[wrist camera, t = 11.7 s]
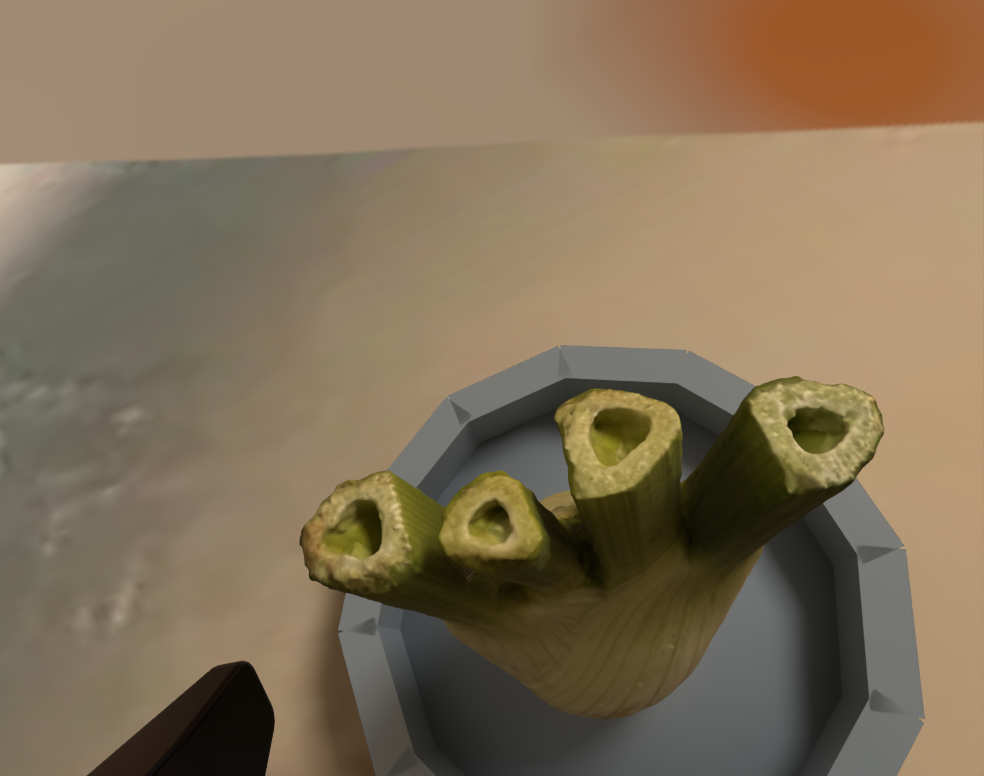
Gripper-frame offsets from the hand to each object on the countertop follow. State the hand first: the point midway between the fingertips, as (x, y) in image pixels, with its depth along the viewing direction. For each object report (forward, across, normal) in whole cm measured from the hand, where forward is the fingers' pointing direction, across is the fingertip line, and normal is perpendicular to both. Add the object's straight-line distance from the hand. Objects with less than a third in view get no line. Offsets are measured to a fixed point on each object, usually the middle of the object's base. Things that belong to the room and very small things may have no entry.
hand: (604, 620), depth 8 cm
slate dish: (+8, 0, +6) cm, 10 cm away
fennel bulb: (+8, 0, +6) cm, 10 cm away
